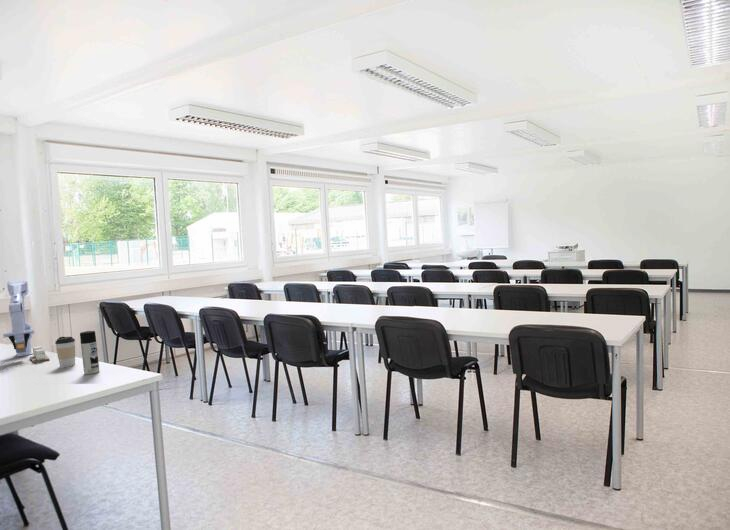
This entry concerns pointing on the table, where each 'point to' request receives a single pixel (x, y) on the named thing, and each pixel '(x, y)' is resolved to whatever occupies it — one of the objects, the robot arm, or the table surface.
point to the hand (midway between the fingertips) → (20, 348)
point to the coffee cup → (66, 351)
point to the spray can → (89, 352)
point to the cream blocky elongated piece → (39, 355)
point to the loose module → (20, 347)
